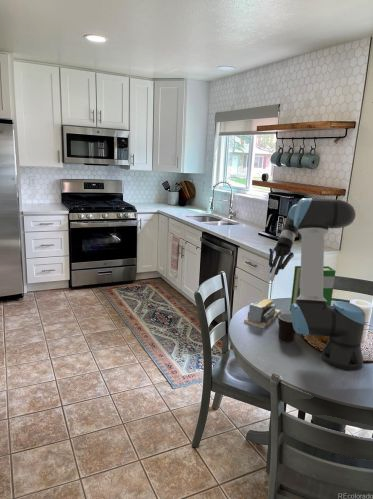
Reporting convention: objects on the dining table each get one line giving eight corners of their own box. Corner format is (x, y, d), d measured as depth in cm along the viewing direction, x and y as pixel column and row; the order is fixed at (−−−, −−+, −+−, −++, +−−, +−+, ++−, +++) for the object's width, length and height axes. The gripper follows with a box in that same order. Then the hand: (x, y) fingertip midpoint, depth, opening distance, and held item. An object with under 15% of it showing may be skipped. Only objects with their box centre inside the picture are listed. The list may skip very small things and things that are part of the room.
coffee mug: (291, 345, 162) (294, 323, 160) (272, 339, 167) (275, 317, 165) (302, 335, 171) (304, 315, 169) (283, 330, 176) (285, 309, 174)
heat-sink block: (263, 324, 177) (265, 308, 175) (245, 319, 182) (246, 303, 180) (278, 311, 193) (279, 296, 191) (261, 307, 198) (262, 292, 196)
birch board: (263, 328, 177) (264, 325, 177) (243, 322, 182) (244, 319, 182) (280, 312, 195) (280, 310, 195) (262, 308, 200) (262, 305, 200)
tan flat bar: (273, 304, 191) (262, 312, 180) (264, 302, 194) (252, 310, 182) (274, 300, 191) (263, 308, 179) (264, 297, 193) (253, 305, 182)
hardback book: (295, 316, 192) (300, 270, 186) (290, 310, 199) (295, 265, 193) (329, 316, 193) (335, 270, 187) (322, 310, 200) (328, 266, 194)
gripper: (299, 246, 198) (285, 285, 189) (275, 242, 205) (260, 280, 196) (297, 238, 193) (282, 278, 183) (272, 234, 200) (257, 272, 190)
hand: (271, 279), depth 190 cm, fingers closed
